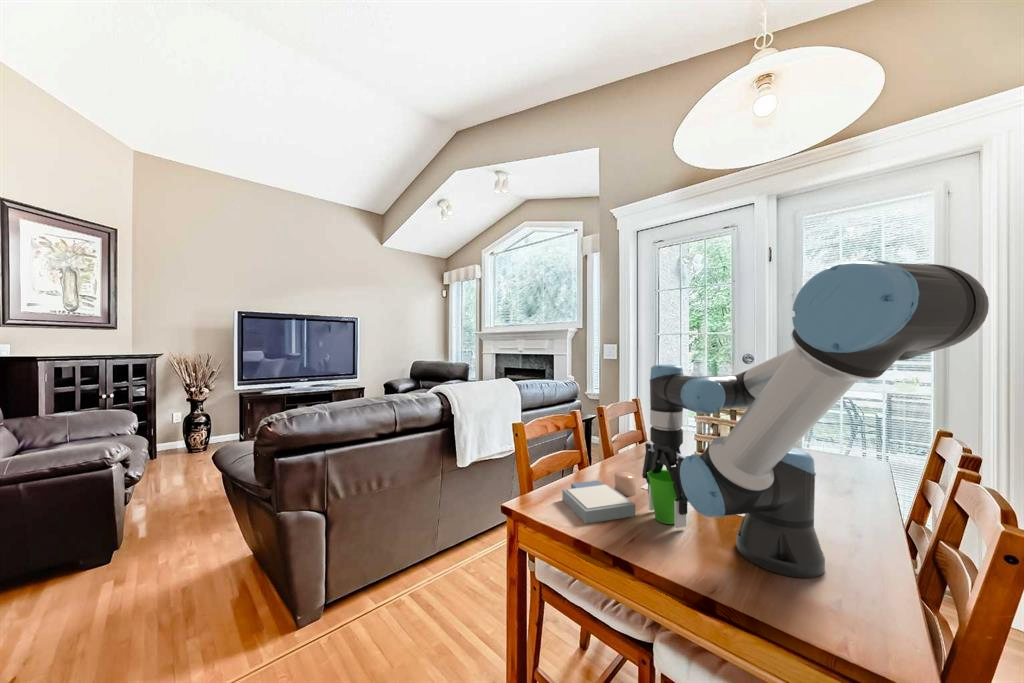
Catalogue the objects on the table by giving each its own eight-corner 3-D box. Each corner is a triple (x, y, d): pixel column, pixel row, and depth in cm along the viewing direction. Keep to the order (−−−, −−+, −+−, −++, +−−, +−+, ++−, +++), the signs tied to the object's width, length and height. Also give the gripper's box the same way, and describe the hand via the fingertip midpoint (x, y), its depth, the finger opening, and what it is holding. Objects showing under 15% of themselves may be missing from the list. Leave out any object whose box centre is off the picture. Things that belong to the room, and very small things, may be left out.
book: (608, 495, 112) (608, 487, 112) (580, 499, 109) (580, 491, 109) (597, 488, 118) (597, 480, 118) (570, 491, 115) (570, 483, 115)
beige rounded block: (640, 494, 111) (640, 477, 111) (621, 497, 110) (621, 480, 110) (628, 487, 117) (628, 470, 117) (610, 489, 116) (610, 472, 115)
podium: (635, 515, 98) (635, 503, 98) (585, 523, 94) (585, 510, 94) (606, 494, 112) (606, 483, 112) (562, 500, 108) (562, 488, 108)
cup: (693, 528, 91) (692, 482, 91) (654, 528, 92) (654, 481, 91) (677, 511, 100) (677, 469, 100) (642, 511, 101) (642, 469, 100)
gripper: (712, 436, 86) (713, 536, 87) (651, 417, 107) (651, 498, 107) (685, 439, 84) (685, 541, 84) (628, 419, 105) (628, 501, 105)
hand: (666, 517), depth 96 cm, fingers closed on cup, 9 cm apart
